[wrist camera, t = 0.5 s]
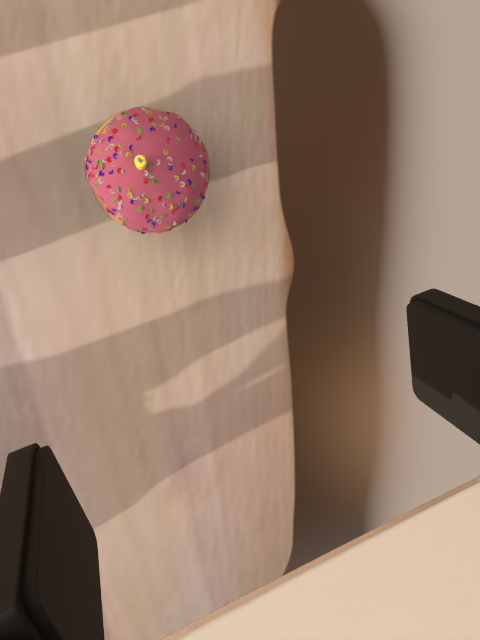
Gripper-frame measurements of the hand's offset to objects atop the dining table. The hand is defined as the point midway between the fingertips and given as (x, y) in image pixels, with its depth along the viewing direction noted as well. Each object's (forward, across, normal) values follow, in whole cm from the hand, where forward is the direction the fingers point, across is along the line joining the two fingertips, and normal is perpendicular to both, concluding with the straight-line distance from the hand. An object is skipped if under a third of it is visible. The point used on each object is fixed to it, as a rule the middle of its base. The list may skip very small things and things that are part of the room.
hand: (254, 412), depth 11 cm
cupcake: (+30, -3, -4) cm, 30 cm away
